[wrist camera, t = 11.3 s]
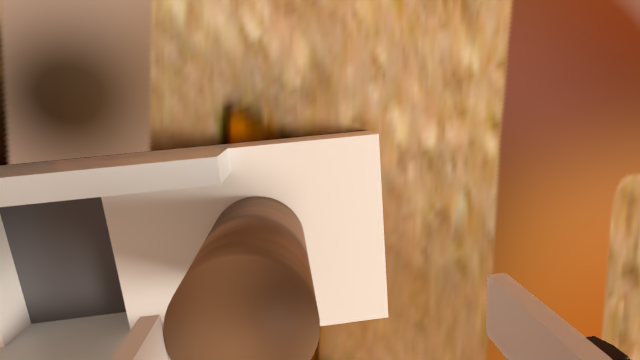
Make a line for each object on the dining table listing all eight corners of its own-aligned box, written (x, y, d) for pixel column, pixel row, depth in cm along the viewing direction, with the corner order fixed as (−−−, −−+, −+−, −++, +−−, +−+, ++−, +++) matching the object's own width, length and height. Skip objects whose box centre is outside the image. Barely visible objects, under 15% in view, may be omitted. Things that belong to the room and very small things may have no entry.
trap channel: (18, 341, 27) (-63, 413, 21) (-33, 168, 25) (-143, 191, 18) (378, 295, 29) (403, 349, 23) (368, 130, 26) (394, 139, 20)
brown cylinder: (213, 285, 24) (168, 403, 15) (209, 196, 23) (158, 260, 14) (304, 282, 25) (318, 393, 15) (304, 195, 24) (321, 256, 14)
